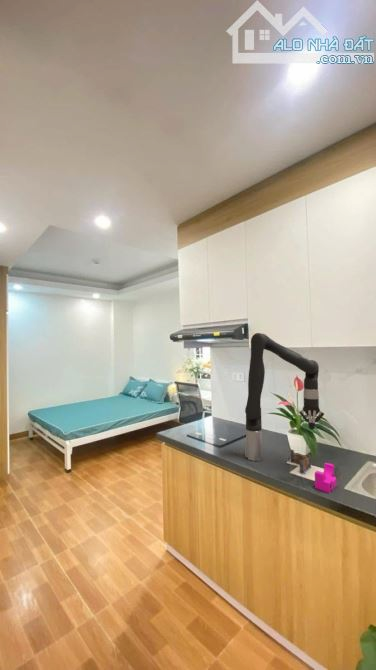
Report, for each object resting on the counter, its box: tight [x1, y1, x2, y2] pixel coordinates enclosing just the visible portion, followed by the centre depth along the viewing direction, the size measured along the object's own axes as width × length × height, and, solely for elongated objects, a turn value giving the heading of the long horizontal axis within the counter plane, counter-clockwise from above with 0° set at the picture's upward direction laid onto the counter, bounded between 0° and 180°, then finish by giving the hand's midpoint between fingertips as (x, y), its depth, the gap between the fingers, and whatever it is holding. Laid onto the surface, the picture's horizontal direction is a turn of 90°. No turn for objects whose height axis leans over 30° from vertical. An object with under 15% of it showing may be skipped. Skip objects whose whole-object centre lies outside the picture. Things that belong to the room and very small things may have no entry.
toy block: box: [314, 462, 338, 494], centre depth 133 cm, size 15×6×8 cm, turn 135°
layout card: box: [286, 459, 324, 482], centre depth 149 cm, size 22×16×1 cm
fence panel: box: [300, 458, 309, 473], centre depth 148 cm, size 9×2×6 cm, turn 135°
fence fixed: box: [290, 449, 312, 467], centre depth 155 cm, size 11×2×7 cm, turn 44°
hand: (311, 429), depth 149 cm, fingers closed
